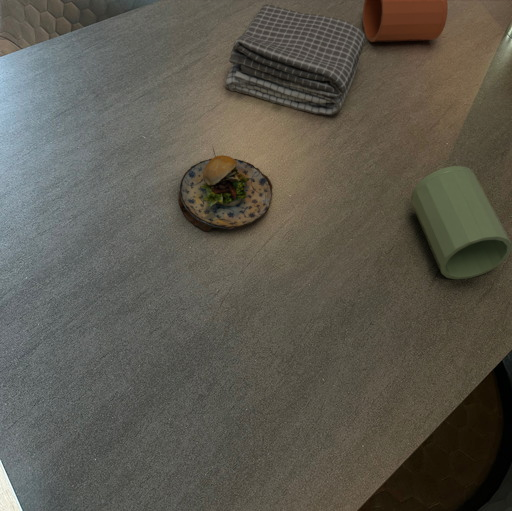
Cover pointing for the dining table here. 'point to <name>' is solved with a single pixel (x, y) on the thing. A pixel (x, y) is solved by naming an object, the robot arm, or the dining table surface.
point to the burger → (224, 193)
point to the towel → (296, 59)
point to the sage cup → (460, 223)
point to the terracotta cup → (404, 19)
